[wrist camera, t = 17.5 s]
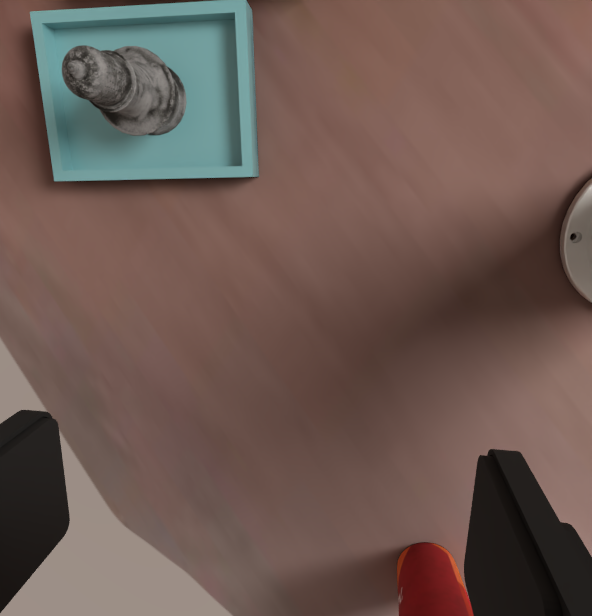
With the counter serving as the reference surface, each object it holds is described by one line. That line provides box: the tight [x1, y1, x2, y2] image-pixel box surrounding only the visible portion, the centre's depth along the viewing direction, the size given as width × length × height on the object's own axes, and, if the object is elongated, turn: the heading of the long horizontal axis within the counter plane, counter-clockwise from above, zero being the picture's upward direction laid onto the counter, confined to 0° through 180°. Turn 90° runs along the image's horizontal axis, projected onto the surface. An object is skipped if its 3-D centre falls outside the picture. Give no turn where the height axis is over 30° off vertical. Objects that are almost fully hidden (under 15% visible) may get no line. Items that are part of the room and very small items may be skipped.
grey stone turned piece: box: [62, 45, 187, 136], centre depth 32 cm, size 6×6×12 cm
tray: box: [30, 0, 259, 181], centre depth 38 cm, size 16×12×2 cm
